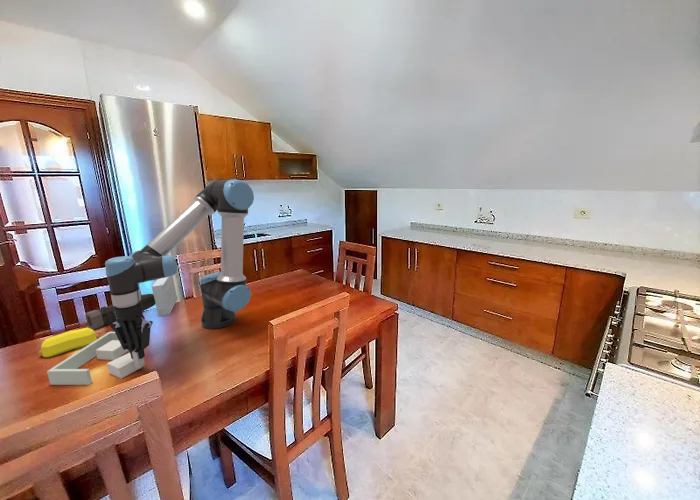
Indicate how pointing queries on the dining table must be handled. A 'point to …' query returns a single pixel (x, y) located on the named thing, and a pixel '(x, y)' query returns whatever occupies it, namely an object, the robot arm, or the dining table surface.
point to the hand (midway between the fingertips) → (140, 366)
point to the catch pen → (78, 364)
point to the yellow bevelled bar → (67, 342)
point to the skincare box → (164, 295)
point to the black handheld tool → (113, 313)
